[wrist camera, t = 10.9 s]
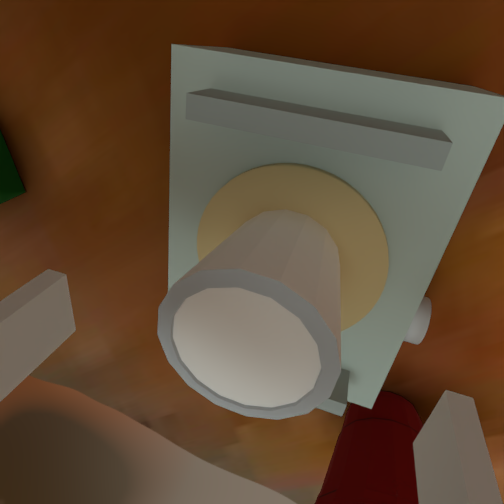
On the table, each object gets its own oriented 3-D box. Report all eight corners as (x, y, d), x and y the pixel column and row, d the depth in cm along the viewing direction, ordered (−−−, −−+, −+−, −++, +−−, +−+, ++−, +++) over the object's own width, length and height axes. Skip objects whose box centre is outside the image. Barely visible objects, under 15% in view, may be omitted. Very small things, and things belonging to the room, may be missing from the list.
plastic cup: (324, 353, 31) (298, 499, 21) (466, 383, 28) (516, 570, 18) (313, 435, 36) (288, 584, 26) (432, 468, 33) (456, 649, 23)
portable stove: (226, 47, 22) (140, 42, 14) (505, 91, 19) (598, 116, 11) (207, 286, 31) (148, 366, 23) (393, 342, 28) (399, 455, 20)
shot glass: (370, 303, 18) (366, 419, 12) (252, 323, 21) (204, 424, 15) (327, 177, 16) (298, 247, 10) (201, 219, 19) (122, 291, 13)
